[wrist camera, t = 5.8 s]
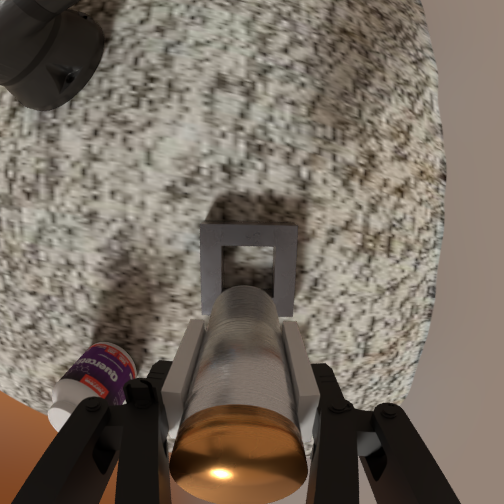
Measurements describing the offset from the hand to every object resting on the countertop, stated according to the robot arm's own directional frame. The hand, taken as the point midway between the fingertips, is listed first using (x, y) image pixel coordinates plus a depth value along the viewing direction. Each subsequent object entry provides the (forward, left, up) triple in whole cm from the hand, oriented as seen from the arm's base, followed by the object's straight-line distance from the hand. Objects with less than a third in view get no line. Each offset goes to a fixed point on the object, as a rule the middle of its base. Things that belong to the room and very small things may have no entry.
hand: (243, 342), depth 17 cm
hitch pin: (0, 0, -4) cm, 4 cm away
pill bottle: (+15, -19, -19) cm, 31 cm away
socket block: (0, 0, -19) cm, 19 cm away
